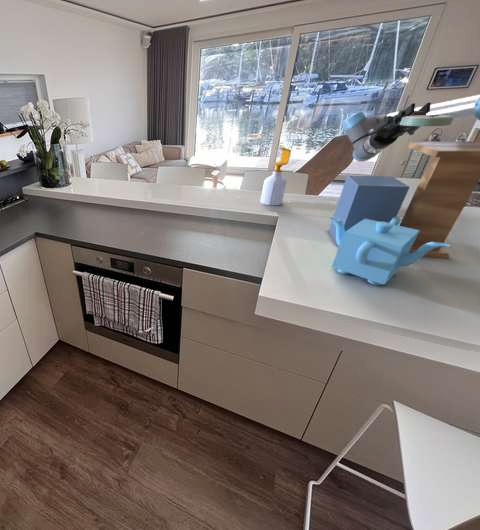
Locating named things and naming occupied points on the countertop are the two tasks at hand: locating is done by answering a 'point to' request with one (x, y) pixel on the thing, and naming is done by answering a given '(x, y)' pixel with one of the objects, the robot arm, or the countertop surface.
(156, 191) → the countertop surface
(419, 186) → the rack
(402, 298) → the countertop surface
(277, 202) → the soap bottle
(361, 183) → the slate blue block
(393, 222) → the teakettle
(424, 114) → the clock
